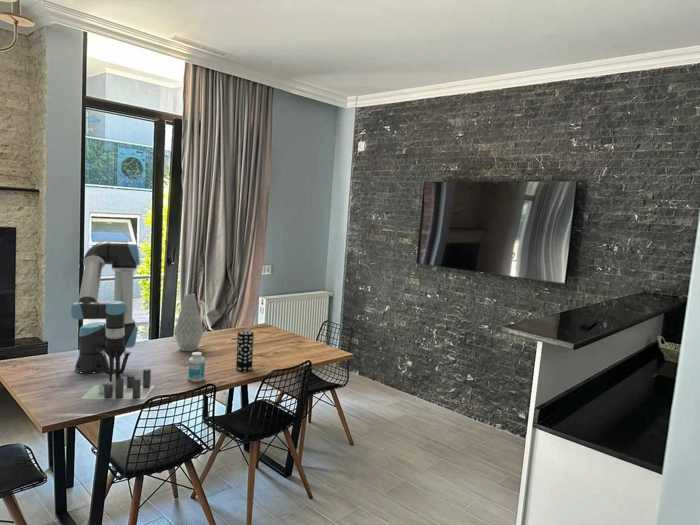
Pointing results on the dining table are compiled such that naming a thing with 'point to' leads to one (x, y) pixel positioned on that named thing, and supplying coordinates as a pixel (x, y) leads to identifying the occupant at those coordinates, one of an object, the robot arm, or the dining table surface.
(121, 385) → the spacers
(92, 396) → the board
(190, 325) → the vase
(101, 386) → the nut
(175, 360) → the dining table surface
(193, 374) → the pill bottle
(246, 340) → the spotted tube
